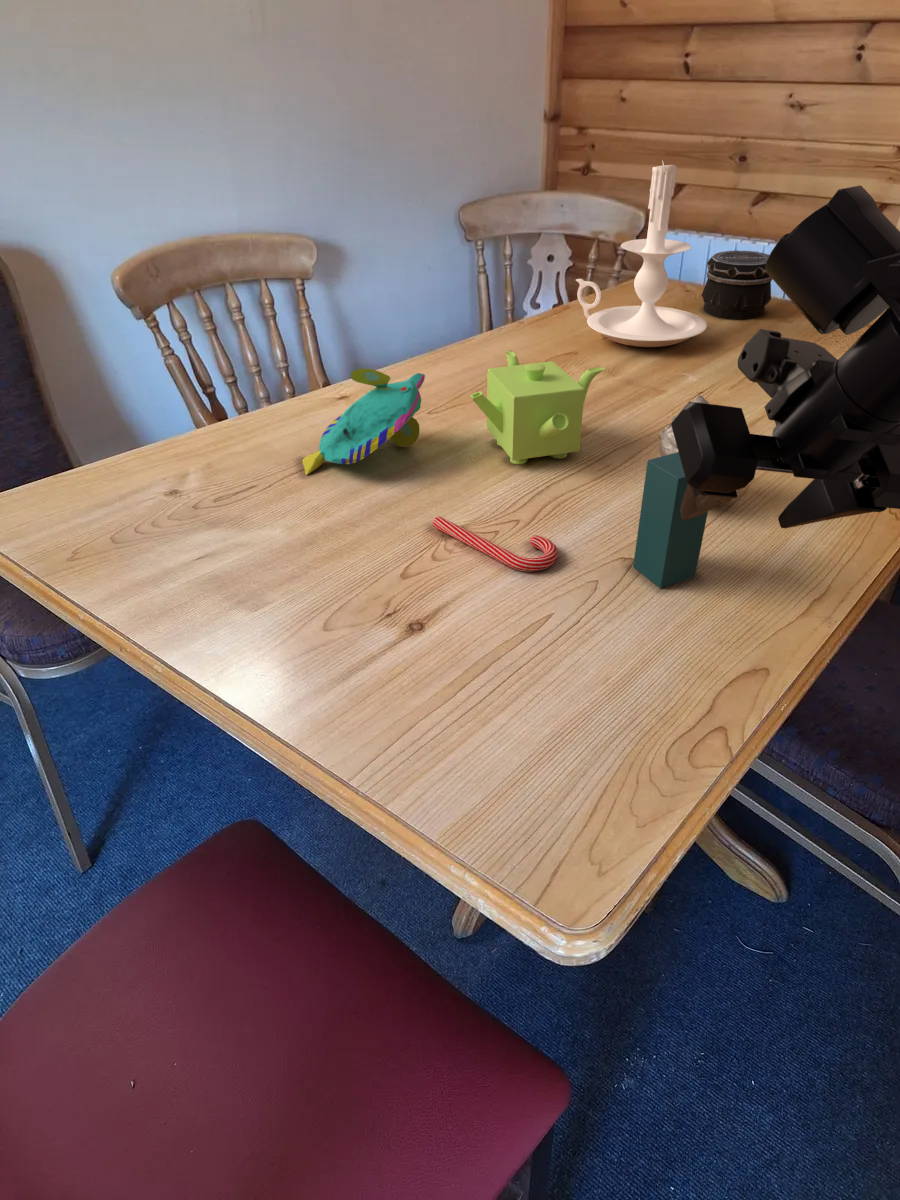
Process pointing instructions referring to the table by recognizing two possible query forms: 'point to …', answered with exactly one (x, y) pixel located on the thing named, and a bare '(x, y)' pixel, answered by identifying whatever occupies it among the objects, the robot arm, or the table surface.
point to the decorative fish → (371, 420)
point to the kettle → (534, 408)
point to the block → (667, 526)
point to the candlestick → (648, 282)
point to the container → (737, 285)
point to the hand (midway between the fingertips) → (732, 519)
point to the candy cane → (499, 552)
